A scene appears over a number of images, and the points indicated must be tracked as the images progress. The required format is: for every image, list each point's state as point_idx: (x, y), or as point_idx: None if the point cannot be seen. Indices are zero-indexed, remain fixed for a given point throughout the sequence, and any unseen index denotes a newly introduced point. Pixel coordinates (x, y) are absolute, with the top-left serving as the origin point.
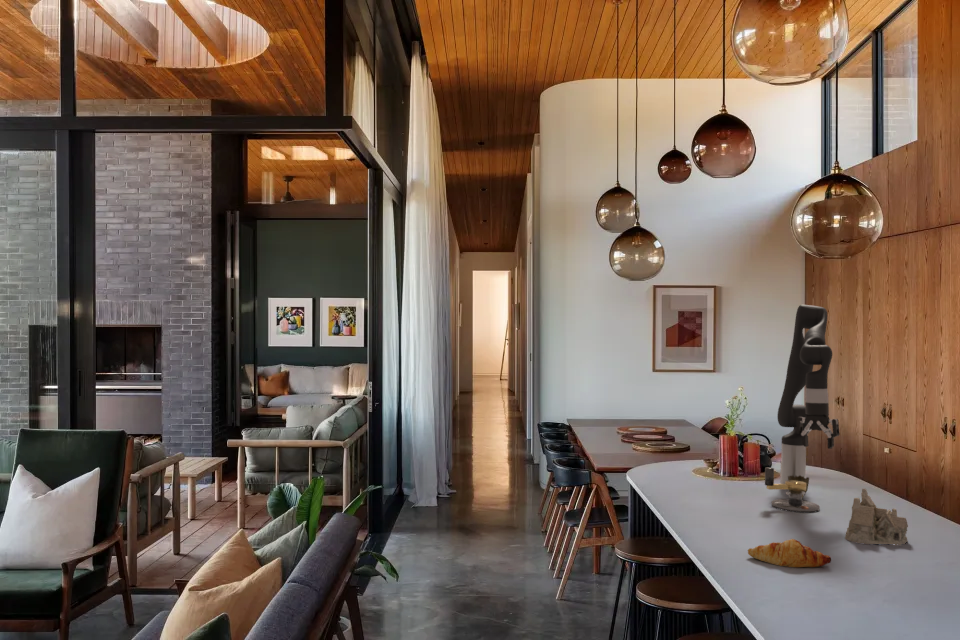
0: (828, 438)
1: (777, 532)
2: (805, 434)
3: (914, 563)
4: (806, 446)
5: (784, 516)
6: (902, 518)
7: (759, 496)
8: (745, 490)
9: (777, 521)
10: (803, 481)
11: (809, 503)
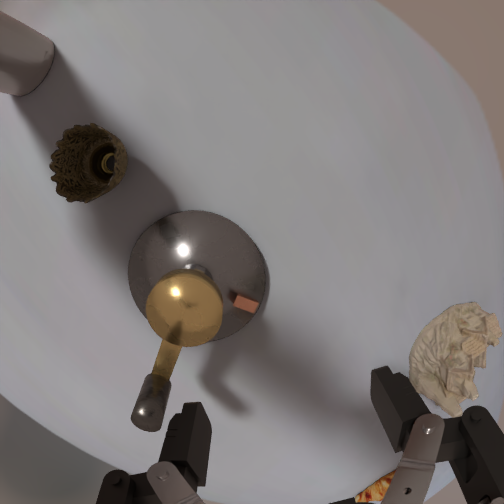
0: (401, 448)
1: (323, 448)
2: (196, 492)
3: (486, 379)
4: (207, 418)
5: (256, 379)
6: (498, 337)
7: (65, 260)
8: (12, 235)
9: (278, 414)
10: (114, 174)
11: (205, 231)
